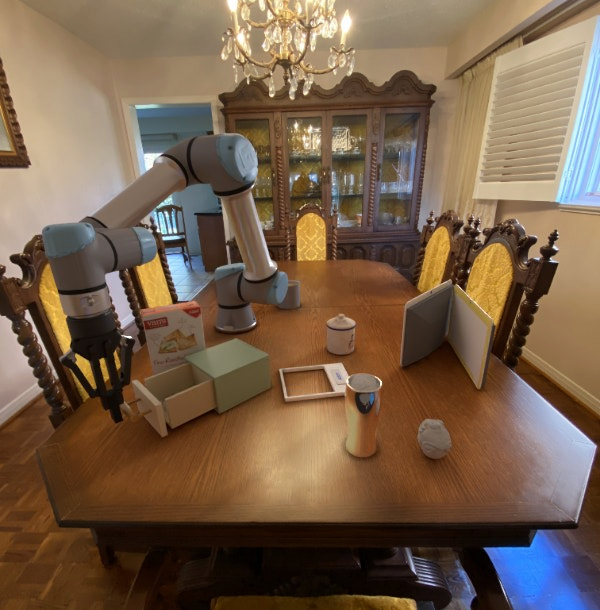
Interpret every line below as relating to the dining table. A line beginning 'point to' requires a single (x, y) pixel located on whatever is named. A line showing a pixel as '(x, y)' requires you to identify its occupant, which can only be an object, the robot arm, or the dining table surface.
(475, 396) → the dining table surface
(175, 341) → the cracker box
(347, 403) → the beer glass
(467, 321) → the grey folded panels
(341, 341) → the teacup with lid
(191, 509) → the dining table surface
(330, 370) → the photo frame
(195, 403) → the drawer
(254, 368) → the cabinet
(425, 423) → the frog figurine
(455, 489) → the dining table surface
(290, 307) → the coffee mug
